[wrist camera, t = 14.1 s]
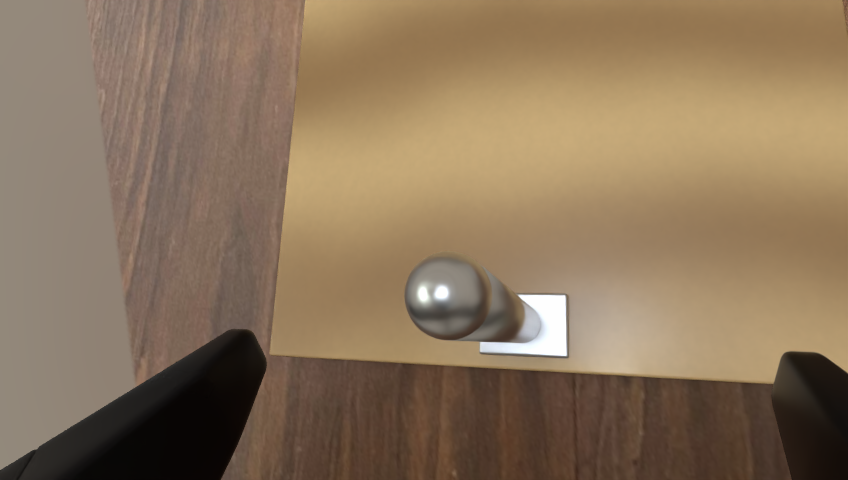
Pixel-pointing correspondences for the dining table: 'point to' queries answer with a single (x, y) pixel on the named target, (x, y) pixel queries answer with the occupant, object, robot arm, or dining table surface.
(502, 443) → the dining table surface
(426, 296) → the metal joystick
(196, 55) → the dining table surface
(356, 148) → the board
